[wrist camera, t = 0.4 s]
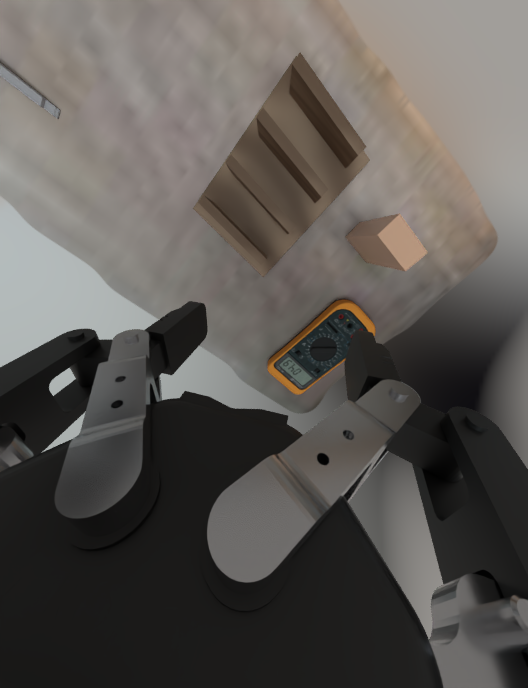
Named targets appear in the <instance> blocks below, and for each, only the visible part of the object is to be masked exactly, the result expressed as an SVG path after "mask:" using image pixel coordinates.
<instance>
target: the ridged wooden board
mask: <svg viewBox="0 0 528 688" xmlns="http://www.w3.org/2000/svg"><path fill="white" fill-rule="evenodd" d="M365 147H366V146H365V144H364V143H363V141H362V140H361V139H360V137H359V136H358V134H357V133H356V131H355V130H354V129H353V127H352V126H351V124H350V123H349V121H348V120H347V119H346V117H345V116H344V114H343V113H342V111H341V110H340V109H339V107H338V106H337V104H336V103H335V101H334V100H333V99H332V97H331V96H330V94H329V93H328V91H327V90H326V89H325V87H324V86H323V84H322V83H321V81H320V80H319V79H318V77H317V76H316V74H315V73H314V71H313V70H312V69H311V67H310V66H309V64H308V63H307V61H306V60H305V59H304V57H303V56H302V54H301V53H299V55H298V56H296V57H295V59H294V60H293V62H292V63H291V65H290V66H289V67H288V69H287V70H286V72H285V73H284V75H283V76H282V78H281V79H280V81H279V82H278V84H277V85H276V87H275V88H274V90H273V91H272V93H271V94H270V96H269V97H268V99H267V100H266V101H265V103H264V104H263V106H262V107H261V109H260V110H259V112H258V113H257V115H256V116H255V118H254V119H253V121H252V122H251V124H250V125H249V127H248V128H247V130H246V131H245V132H244V134H243V135H242V137H241V138H240V140H239V141H238V143H237V144H236V146H235V147H234V149H233V150H232V152H231V153H230V155H229V156H228V158H227V159H226V161H225V162H224V163H223V165H222V166H221V168H220V169H219V171H218V172H217V174H216V175H215V177H214V178H213V180H212V181H211V183H210V184H209V186H208V187H207V189H206V190H205V192H204V193H203V195H202V196H201V197H200V199H199V200H198V202H197V203H196V205H195V206H194V208H193V209H194V210H195V211H196V212H197V213H198V214H199V215H200V216H201V217H202V218H203V219H204V220H205V221H206V222H207V223H208V224H209V225H210V226H211V227H212V228H214V229H215V230H216V231H217V232H218V233H219V234H220V235H221V236H222V237H223V238H224V239H225V240H226V241H227V242H228V243H229V244H230V245H231V246H232V247H233V248H234V249H235V250H236V251H237V252H238V253H239V254H240V255H241V256H242V257H243V258H244V259H245V260H246V261H247V262H248V263H249V264H250V265H251V266H252V267H253V268H254V269H255V270H256V271H257V272H258V273H259V274H261V275H262V276H263V277H264V276H265V275H266V274H267V273H268V271H269V270H270V269H271V268H272V267H273V266H274V265H275V264H276V263H277V262H278V261H279V259H280V258H281V257H282V256H283V255H284V254H285V253H286V252H287V251H288V250H289V248H290V247H291V246H292V245H293V244H294V243H295V242H296V241H297V240H298V239H299V237H300V236H301V235H302V234H303V233H304V232H305V231H306V230H307V229H308V228H309V227H310V225H311V224H312V223H313V222H314V221H315V220H316V219H317V218H318V217H319V216H320V214H321V213H322V212H323V211H324V210H325V209H326V208H327V207H328V206H329V205H330V204H331V202H332V201H333V200H334V199H335V198H336V197H337V196H338V195H339V194H340V193H341V191H342V190H343V189H344V188H345V187H346V186H347V185H348V184H349V183H350V182H351V180H352V179H353V178H354V177H355V176H356V175H357V174H358V173H359V172H360V171H361V170H362V168H363V167H364V166H365V165H366V164H367V163H368V162H369V161H370V159H369V158H368V156H367V155H366V154H365V152H364V151H363V150H364V149H365Z"/></svg>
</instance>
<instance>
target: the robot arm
mask: <svg viewBox="0 0 528 688" xmlns="http://www.w3.org/2000/svg"><path fill="white" fill-rule="evenodd" d="M206 335H207V317H206V307H205V305H204V304H203V303H198V302H192V301H189V302H188V303H187V304H185V305H184V306H182V307H181V308H179V309H176V310H174V311H171V312H170V313H168V314H167V315H165V317H162V318H161V319H160V320H158V321H157V322H155V323H154V324H152V325H151V326H150V327H148V328H147V329H145V330H140V329H134V330H128V331H124V332H122V333H119V334H117V335H116V336H115V337H114V338H113V340H99V339H98V336H97V334H96V332H95V331H94V330H92V329H77V330H73V331H69V332H66V333H64V334H62V335H60V336H58V337H56V338H54V339H53V340H51V341H49V342H47V343H45V344H43V345H41V346H40V347H38V348H36V349H34V350H32V351H30V352H28V353H26V354H25V355H23V356H21V357H19V358H17V359H15V360H13V361H12V362H10V363H8V364H6V365H4V366H2V367H0V688H528V469H527V468H526V466H525V465H524V463H523V462H522V460H521V459H520V457H519V456H518V455H517V453H516V452H515V450H514V449H513V447H512V446H511V444H510V443H509V442H508V440H507V439H506V437H505V436H504V434H503V433H502V431H501V430H500V429H499V427H498V426H497V425H496V424H494V423H493V422H492V421H491V420H489V419H488V418H487V417H485V416H483V415H481V414H480V413H478V412H476V411H474V410H471V409H468V408H464V407H454V408H451V409H450V410H449V412H448V413H447V414H444V413H442V412H440V411H437V410H435V409H432V408H430V407H427V406H426V405H423V404H421V403H420V402H421V400H420V397H419V395H418V394H417V393H416V392H415V391H414V390H413V389H412V388H411V387H409V386H408V385H406V384H404V383H402V382H401V379H400V377H399V375H398V372H397V370H396V367H395V365H394V362H393V360H392V359H391V355H390V352H389V351H388V350H387V349H386V348H385V347H384V346H383V345H382V344H379V343H376V341H375V338H374V335H373V333H372V332H367V331H362V330H355V332H354V334H353V337H352V340H351V343H350V346H349V349H348V352H347V355H346V359H345V376H346V385H347V396H348V400H347V401H346V402H345V403H343V404H342V405H341V406H339V407H338V408H337V409H336V410H335V411H333V412H332V413H331V414H329V415H328V416H327V417H326V418H324V419H323V420H322V421H320V422H319V423H318V424H317V425H316V426H314V427H313V428H312V429H310V430H309V431H308V432H307V433H305V434H304V435H302V434H301V433H300V432H298V431H297V430H296V429H294V428H293V427H290V426H289V425H287V420H288V416H287V415H283V414H279V413H274V412H270V411H266V410H262V409H234V408H230V407H228V406H226V405H224V404H222V403H220V402H218V401H216V400H214V399H212V398H210V397H208V396H203V395H199V394H196V393H191V392H187V391H185V392H184V393H183V394H182V396H181V397H180V398H177V399H167V400H162V393H161V380H160V376H159V375H160V374H161V373H164V374H169V375H172V374H174V373H175V371H176V370H177V369H178V368H179V367H180V366H181V365H182V364H183V363H184V361H185V360H186V359H187V358H188V357H189V356H190V355H191V353H193V351H194V350H195V349H196V348H197V347H198V346H199V345H200V344H201V343H202V341H203V340H204V339H205V338H206ZM69 367H70V369H71V370H72V372H73V374H74V376H75V378H76V379H75V380H74V381H73V382H72V383H70V384H69V385H67V386H66V387H65V388H63V389H62V390H61V391H60V392H58V393H57V394H56V395H54V396H53V395H52V394H51V393H50V391H49V384H50V382H51V380H52V379H53V378H55V377H56V376H58V375H59V374H60V373H62V372H63V371H65V370H66V369H68V368H69ZM85 411H86V413H85V417H84V420H83V424H82V428H81V432H80V434H79V435H78V436H77V437H75V438H74V439H71V440H69V441H67V442H65V443H63V444H60V445H58V446H56V447H54V448H52V449H49V450H47V451H45V452H42V451H43V450H45V449H46V448H47V447H48V446H49V445H50V444H51V443H52V442H53V441H54V440H55V439H56V438H57V437H59V436H60V435H61V434H62V433H63V432H64V431H65V430H66V429H67V428H68V427H69V426H70V425H71V424H72V423H74V421H76V420H77V419H78V418H79V417H80V416H81V415H82V414H83V413H84V412H85ZM388 451H390V452H391V453H393V454H395V455H397V456H399V457H401V458H403V459H405V460H407V461H409V462H411V463H412V465H413V468H414V472H415V476H416V480H417V484H418V488H419V492H420V496H421V499H422V503H423V507H424V511H425V515H426V519H427V522H428V526H429V530H430V533H431V538H432V542H433V545H434V549H435V553H436V557H437V561H438V564H439V569H440V572H441V576H442V580H443V584H444V585H441V586H440V587H438V588H437V589H436V590H435V591H434V593H433V595H432V599H431V610H432V621H433V625H432V633H431V637H430V639H428V637H427V635H426V632H425V630H424V628H423V626H422V624H421V622H420V620H419V618H418V616H417V614H416V612H415V610H414V609H413V607H412V605H411V604H410V602H409V600H408V599H407V597H406V595H405V594H404V592H403V591H402V589H401V587H400V586H399V584H398V583H397V581H396V579H395V578H394V576H393V574H392V573H391V571H390V570H389V568H388V566H387V565H386V563H385V562H384V560H383V558H382V557H381V555H380V553H379V552H378V550H377V549H376V547H375V545H374V544H373V542H372V541H371V539H370V537H369V536H368V534H367V532H366V531H365V529H364V528H363V526H362V524H361V523H360V521H359V519H358V518H357V516H356V515H355V513H354V512H353V510H352V508H351V506H350V505H349V503H348V502H349V501H350V500H351V498H352V497H353V496H354V494H355V493H356V492H357V490H358V489H359V488H360V486H361V485H362V484H363V482H364V481H365V480H366V478H367V477H368V476H369V475H370V473H371V472H372V471H373V469H374V468H375V467H376V466H377V465H378V463H379V462H380V461H381V460H382V458H383V457H384V456H385V455H386V453H387V452H388ZM41 452H42V453H41Z"/></svg>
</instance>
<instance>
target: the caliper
mask: <svg viewBox="0 0 528 688" xmlns="http://www.w3.org/2000/svg"><path fill="white" fill-rule="evenodd" d="M0 76H1V77H2V78H4V79H5V80H6V81H8V82H9V83H10V84H12V85H13V86H14V87H15V88H17V89H18V90H19V91H21V92H22V93H23V94H25V95H26V96H27V97H29V98H30V99H31V100H33V101H34V102H35V103H36V104H38V105H39V106H40V107H42V108H44V109H45V110H47V111H48V112H49V113H51V114H52V115H53V116H55V117H56V118H58V117H59V113H60V110H59V109H58V108H57V107H56V106H54V105H53V104H52V103H50V102H49V101H48V100H47V99H46V98H45V97H43V96H42V95H41V94H40V93H38V92H37V91H36V90H35V89H33V88H32V87H31V86H29V85H28V84H27V83H26V82H24V81H23V80H22V79H20V78H19V77H18V76H17V75H15V74H14V73H13V72H11V71H10V70H9V69H8V68H6V67H5V66H4V65H3V64H1V63H0Z"/></svg>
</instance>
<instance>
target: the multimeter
mask: <svg viewBox="0 0 528 688" xmlns="http://www.w3.org/2000/svg"><path fill="white" fill-rule="evenodd" d="M355 330H362V331H367V332H372V333H373V335H374V336H375V332H376V330H375V326H374V324H373V322H372V321H371V320H370V319H369V318H368V317H367V315H366V314H365V313H364V312H363V311H362V310H361V309H360V308H359V307H358V306H357V305H356V304H355V303H353V302H352V301H349V300H338V301H336V302H334V303H333V304H332V305H330V306H329V307H328V308H327V309H326V310H325V311H324V312H323V313H322V314H321V315H320V316H319V317H317V318H316V319H315V320H314V321H313V322H312V323H311V324H310V325H309V326H308V327H307V328H306V329H304V330H303V331H302V332H301V333H300V334H299V335H297V336H296V337H295V338H294V339H293V340H292V341H291V342H289V343H288V344H287V345H286V346H285V347H284V348H282V349H281V350H280V351H279V352H277V353H276V354H275V355H274V356H273V357H271V358H270V359H269V361H268V372H269V373H270V374H271V375H272V376H274V377H275V378H276V379H277V380H278V381H280V382H281V383H282V384H283V385H284V386H285V387H287V388H288V389H289V390H290V391H291V392H292V393H294V394H302V393H303V392H305V391H306V390H307V389H308V388H310V387H311V386H312V385H313V384H315V383H316V382H317V381H318V380H320V379H321V378H322V377H323V376H325V375H326V374H327V373H329V372H330V371H331V370H333V369H334V368H335V367H337V366H338V365H339V364H341V363H342V362H343V361H345V359H346V355H347V352H348V349H349V346H350V343H351V340H352V337H353V334H354V332H355Z"/></svg>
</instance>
